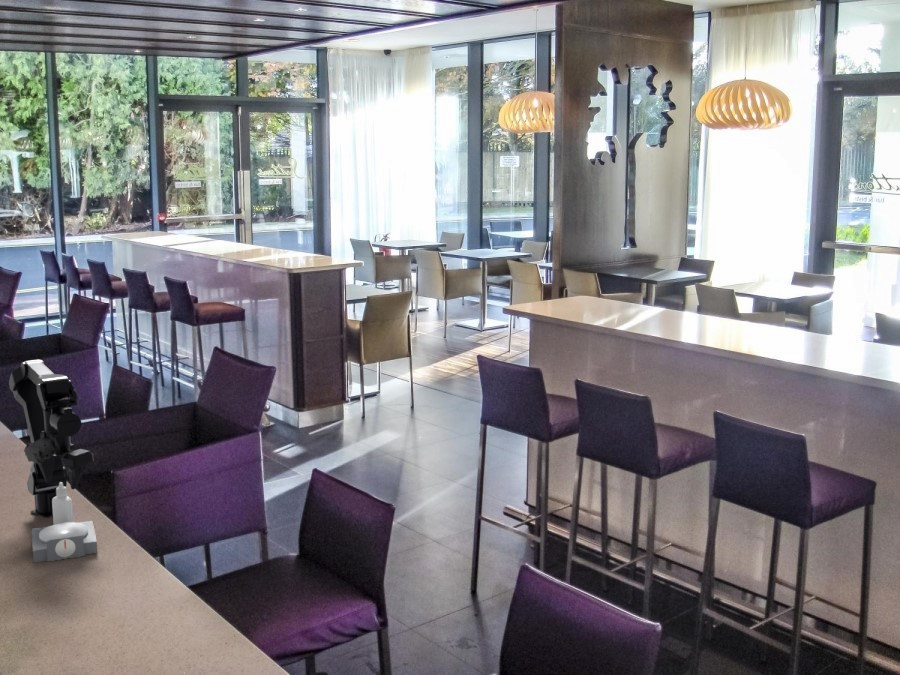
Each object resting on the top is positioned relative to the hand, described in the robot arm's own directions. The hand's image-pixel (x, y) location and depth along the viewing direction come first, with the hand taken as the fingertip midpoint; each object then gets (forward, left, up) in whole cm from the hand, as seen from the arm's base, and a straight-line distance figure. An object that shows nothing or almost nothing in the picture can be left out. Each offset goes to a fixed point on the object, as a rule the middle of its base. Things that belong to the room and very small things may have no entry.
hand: (60, 485), depth 236 cm
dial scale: (+10, -8, -11) cm, 17 cm away
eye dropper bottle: (0, 0, -11) cm, 11 cm away
